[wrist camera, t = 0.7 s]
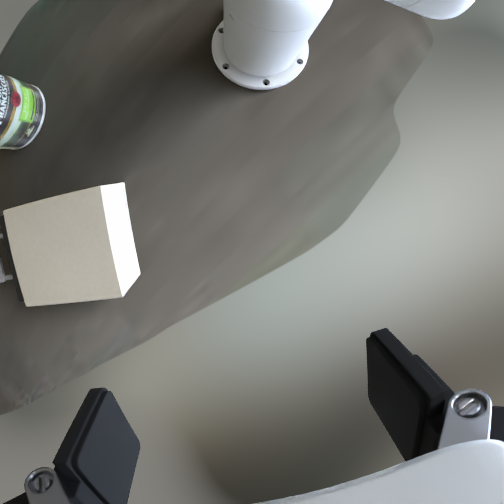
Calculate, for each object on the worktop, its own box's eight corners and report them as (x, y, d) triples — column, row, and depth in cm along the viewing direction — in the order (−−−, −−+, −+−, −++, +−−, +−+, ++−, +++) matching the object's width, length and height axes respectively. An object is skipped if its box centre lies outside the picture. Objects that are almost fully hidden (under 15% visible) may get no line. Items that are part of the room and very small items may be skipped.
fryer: (54, 285, 42) (26, 306, 34) (36, 202, 39) (2, 210, 30) (140, 274, 43) (122, 297, 34) (124, 182, 39) (100, 185, 31)
